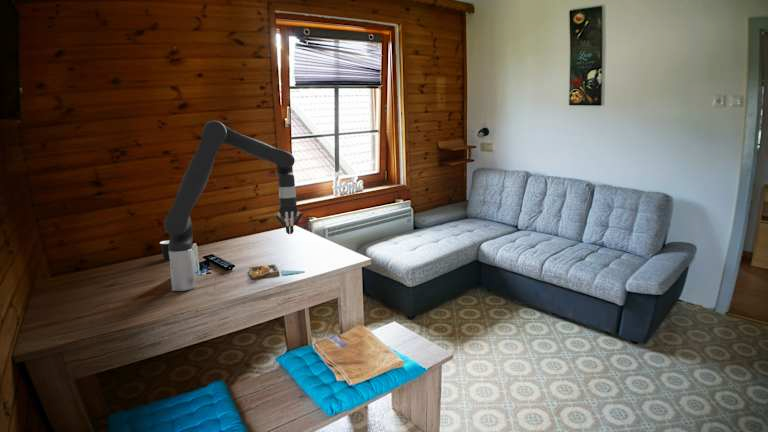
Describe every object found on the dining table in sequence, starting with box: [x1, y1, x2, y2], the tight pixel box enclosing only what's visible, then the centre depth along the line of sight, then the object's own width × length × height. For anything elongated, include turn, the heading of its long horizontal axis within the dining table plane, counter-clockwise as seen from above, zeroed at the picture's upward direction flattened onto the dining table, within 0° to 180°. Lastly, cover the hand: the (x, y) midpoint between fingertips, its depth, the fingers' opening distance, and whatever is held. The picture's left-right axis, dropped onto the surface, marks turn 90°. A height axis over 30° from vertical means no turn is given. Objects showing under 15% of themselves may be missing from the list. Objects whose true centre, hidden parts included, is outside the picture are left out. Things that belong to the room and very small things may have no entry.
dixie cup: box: [159, 239, 170, 262], centre depth 229 cm, size 8×8×11 cm
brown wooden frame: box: [248, 264, 280, 280], centre depth 202 cm, size 12×14×2 cm
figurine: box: [249, 265, 271, 277], centre depth 196 cm, size 8×6×12 cm
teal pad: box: [280, 269, 305, 277], centre depth 205 cm, size 10×10×1 cm
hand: (290, 233), depth 202 cm, fingers closed
